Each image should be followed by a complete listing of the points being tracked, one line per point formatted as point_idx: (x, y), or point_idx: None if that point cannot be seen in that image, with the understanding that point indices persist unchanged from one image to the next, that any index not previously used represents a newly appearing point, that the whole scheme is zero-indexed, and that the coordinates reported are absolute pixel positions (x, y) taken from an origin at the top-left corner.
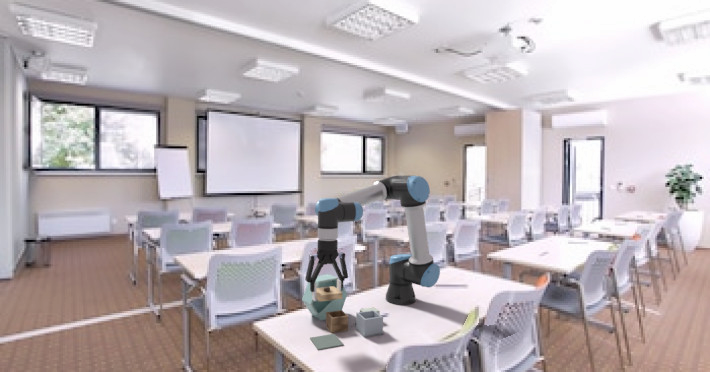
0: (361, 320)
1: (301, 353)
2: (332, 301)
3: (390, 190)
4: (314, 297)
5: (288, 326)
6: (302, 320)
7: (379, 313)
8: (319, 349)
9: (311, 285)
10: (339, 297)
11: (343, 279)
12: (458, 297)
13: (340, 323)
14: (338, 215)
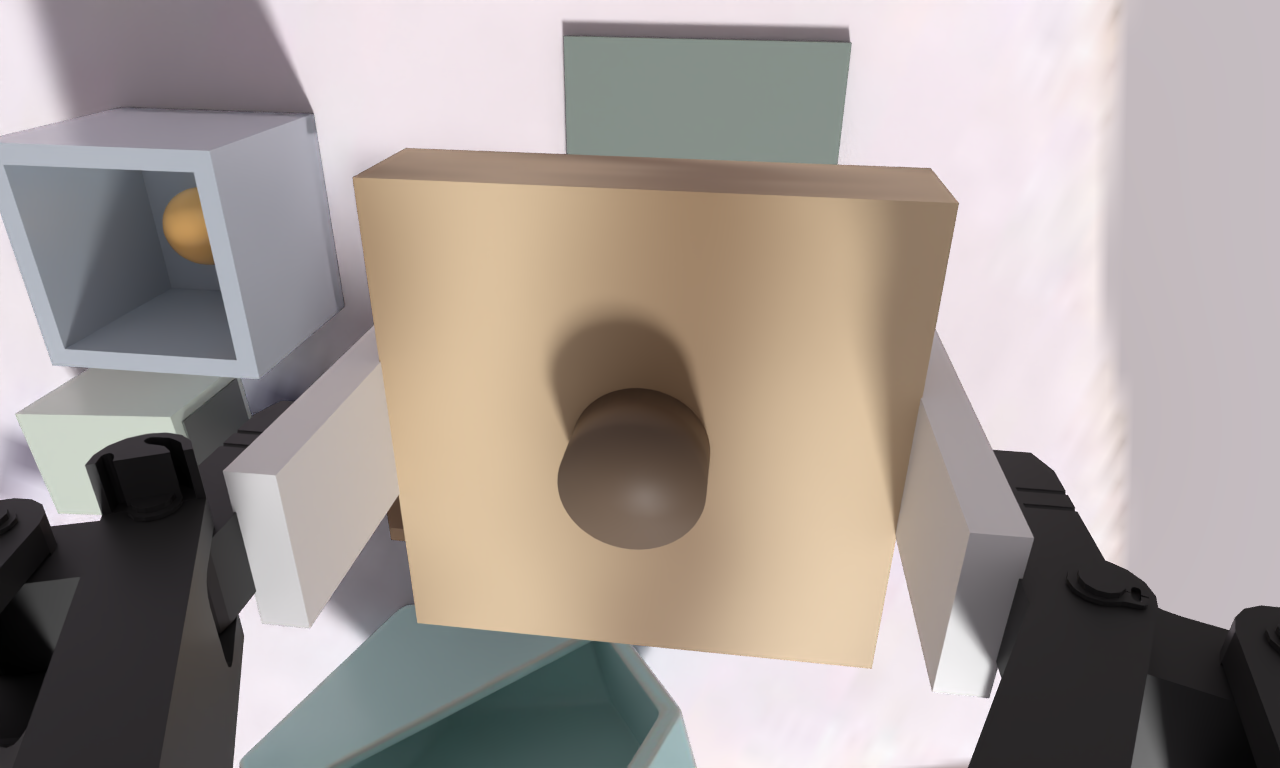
0: (252, 232)
1: (1034, 43)
2: (429, 710)
3: None
4: (947, 365)
5: (889, 601)
6: None
7: (37, 401)
8: (833, 42)
9: (1093, 551)
10: (455, 159)
11: (130, 456)
12: None
13: None
14: None
